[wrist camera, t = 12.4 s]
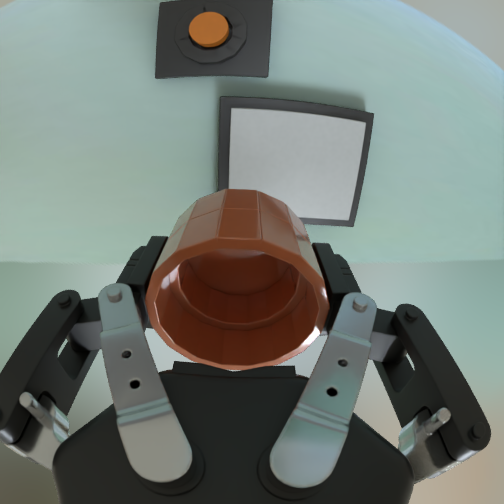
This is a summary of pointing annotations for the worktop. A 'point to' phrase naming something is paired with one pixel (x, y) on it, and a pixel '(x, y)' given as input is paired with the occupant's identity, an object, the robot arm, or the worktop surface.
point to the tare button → (209, 29)
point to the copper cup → (238, 283)
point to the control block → (219, 57)
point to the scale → (296, 154)
